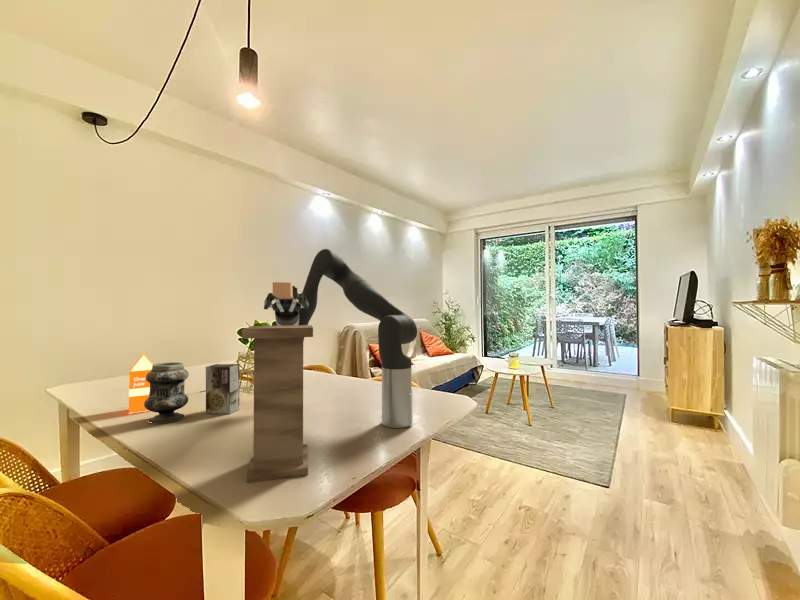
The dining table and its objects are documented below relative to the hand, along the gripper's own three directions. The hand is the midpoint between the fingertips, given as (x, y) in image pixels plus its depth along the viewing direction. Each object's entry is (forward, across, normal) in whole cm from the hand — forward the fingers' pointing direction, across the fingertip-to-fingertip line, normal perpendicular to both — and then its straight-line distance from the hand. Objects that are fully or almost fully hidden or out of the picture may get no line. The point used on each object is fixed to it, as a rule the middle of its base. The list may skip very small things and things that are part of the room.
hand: (285, 288), depth 104 cm
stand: (-1, 0, -47) cm, 47 cm away
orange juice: (-54, +50, -17) cm, 76 cm away
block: (+5, 0, -6) cm, 8 cm away
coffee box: (-45, +22, -22) cm, 55 cm away
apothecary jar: (-41, +38, -24) cm, 61 cm away
